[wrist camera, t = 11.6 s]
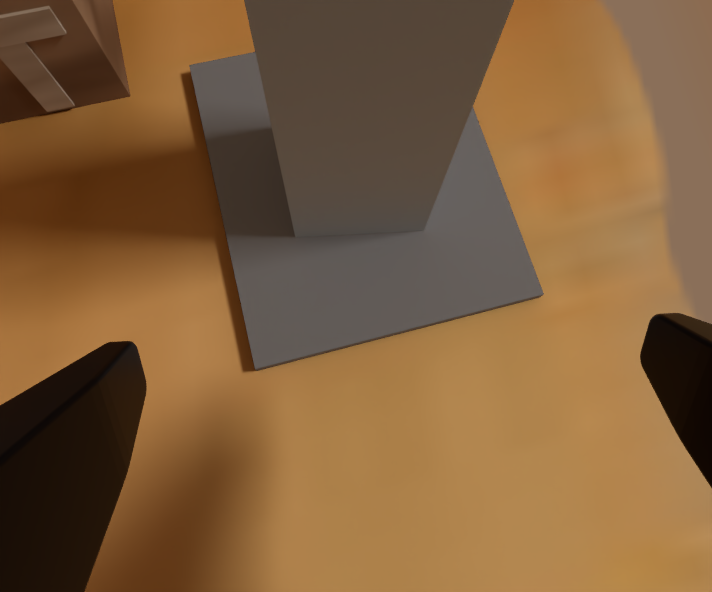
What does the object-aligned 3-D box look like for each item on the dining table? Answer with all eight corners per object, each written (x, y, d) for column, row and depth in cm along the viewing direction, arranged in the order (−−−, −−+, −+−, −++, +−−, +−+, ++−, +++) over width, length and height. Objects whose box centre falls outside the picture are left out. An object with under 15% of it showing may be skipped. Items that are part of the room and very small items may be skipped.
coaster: (539, 297, 18) (543, 294, 18) (256, 370, 17) (255, 369, 17) (436, 23, 21) (438, 15, 21) (192, 72, 20) (189, 65, 20)
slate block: (423, 230, 18) (569, -140, 7) (295, 237, 18) (215, -133, 6) (411, 119, 19) (515, -356, 8) (290, 124, 19) (217, -356, 8)
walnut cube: (131, 99, 20) (62, -14, 15) (-3, 128, 19) (-120, 21, 14) (112, -4, 21) (42, -140, 16) (-15, 20, 21) (-125, -112, 16)
